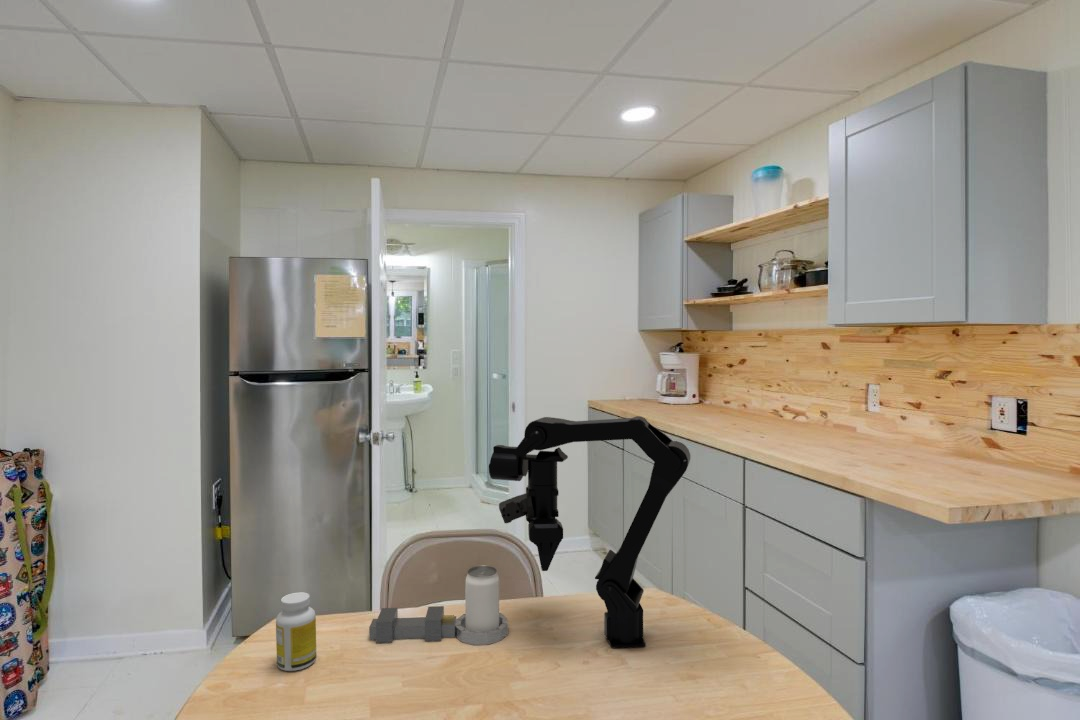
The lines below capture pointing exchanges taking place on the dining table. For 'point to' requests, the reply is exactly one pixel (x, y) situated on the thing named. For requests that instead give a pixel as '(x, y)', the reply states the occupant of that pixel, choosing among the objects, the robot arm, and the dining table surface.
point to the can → (482, 599)
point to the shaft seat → (431, 627)
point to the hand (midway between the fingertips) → (542, 561)
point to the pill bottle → (296, 632)
